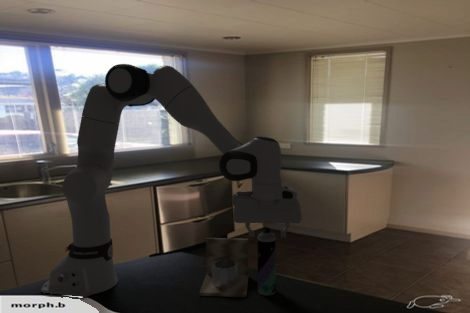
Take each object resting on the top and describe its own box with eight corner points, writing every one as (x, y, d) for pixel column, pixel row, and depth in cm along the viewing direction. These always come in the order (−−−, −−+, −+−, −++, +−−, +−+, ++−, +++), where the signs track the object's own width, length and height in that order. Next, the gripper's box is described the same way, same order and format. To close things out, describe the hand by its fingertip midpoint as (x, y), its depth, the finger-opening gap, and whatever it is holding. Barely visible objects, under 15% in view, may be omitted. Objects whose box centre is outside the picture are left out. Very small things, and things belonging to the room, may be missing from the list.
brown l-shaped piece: (199, 295, 105) (198, 253, 104) (207, 275, 119) (206, 237, 118) (246, 297, 104) (246, 254, 103) (248, 276, 118) (248, 238, 117)
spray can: (255, 293, 106) (255, 229, 104) (260, 285, 111) (260, 224, 109) (272, 297, 104) (273, 231, 102) (277, 288, 109) (277, 225, 107)
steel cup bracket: (210, 288, 108) (210, 269, 107) (215, 273, 118) (215, 256, 117) (237, 288, 107) (236, 269, 107) (239, 274, 117) (239, 257, 117)
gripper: (230, 193, 102) (232, 240, 104) (302, 193, 101) (302, 240, 102) (232, 189, 109) (233, 233, 110) (300, 189, 107) (300, 233, 108)
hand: (267, 236), depth 106 cm, fingers open, 8 cm apart
